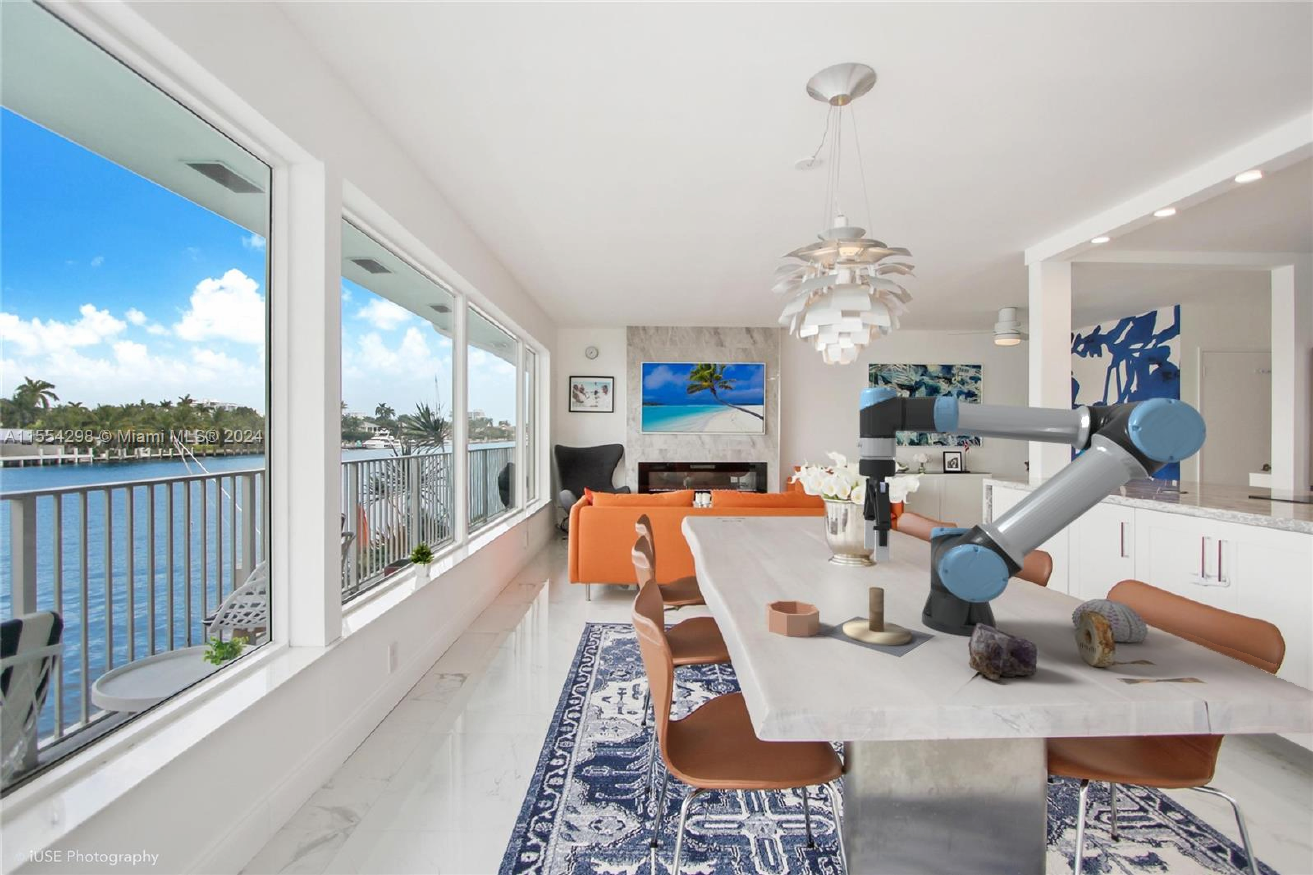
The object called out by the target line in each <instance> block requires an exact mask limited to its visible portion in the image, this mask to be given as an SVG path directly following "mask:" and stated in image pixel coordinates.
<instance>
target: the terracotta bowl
mask: <svg viewBox="0 0 1313 875" xmlns="http://www.w3.org/2000/svg"><path fill="white" fill-rule="evenodd" d="M765 625H766V627H767V629H768V631H769V632H771V633H774V634H777V635H780V636H783V637H790V638H792V637H795V638H801V637H802V638H808V637H810V636H812V635H815V634H818V633H820V610H819V608H817V606H815V604H811V603H807V602H803V601H799V600H775V601H772V602H770V603H766V604H765Z"/></svg>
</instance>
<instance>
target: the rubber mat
mask: <svg viewBox="0 0 1313 875" xmlns="http://www.w3.org/2000/svg"><path fill="white" fill-rule="evenodd" d="M854 620H869V618H865V617H862V616H855V617H853V618H851V619H849V620H846V621H843V622H841V623H839V624H836V625H834V626H832V627H831V628H828V629H825V630H823V631H821V632H818V633H817V634H818V635H821V636H823V637H828V638H831V639H834V640H838V641H842V642H844V643H845V642H846V643H848V644H852V645H856V646H858V647H863V648H866V649H869V650H872V651H873V650H874V651H876V652H881V653H883V654H888V655H891V656H894V657H897V658H900V657H902V656H904V655H906V654H907V653H909V652H910V651H913V650H914V649H915V648H918V647H919V646H921V645H922V644H924V643H926V642H927V641H929V640H930V639H932V638H933V637H935V636H936V635H935V634H931V633H927V632H924V631H923V632H922V631H920V630H919V631H918V630H914V629H910V628H906V627H905V628H906V629H907V630H909V631H910V632H911V641H910V642H909V643H907V644H904V645H899V646H879V645H871V644H866V643H862V642H859V641H856V640H853V639H851V638H849V637H847V636H846V635H845V634H844V633H843V625H844V624H845V623H847V622H849V621H854Z"/></svg>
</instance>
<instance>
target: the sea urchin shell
mask: <svg viewBox="0 0 1313 875" xmlns="http://www.w3.org/2000/svg"><path fill="white" fill-rule="evenodd" d="M1082 611H1095V612H1098V613H1100V614H1102V615H1103V616H1104V617H1106V618H1107V619H1108V621H1109V622H1110V625H1111V627H1112V631H1113V635H1114V642H1121V643H1122V642H1124V643H1139V642H1143V641H1144V640H1146V638H1147V637H1148V635H1149V631H1148V630H1149V628H1148V627H1147V623H1145V621H1144V619H1143V618H1142V616H1141V615H1140V614H1139V613H1137V612H1136V610H1134V609H1133V608H1132V607H1130V606H1129V605H1127V604H1125V603H1123V602H1120V601H1115V600H1113V599H1108V598H1101V599H1100V598H1094V599H1090V600H1087V601H1085V602H1083V603H1082V604H1080V605H1079V606H1078V607H1076V608H1075V610H1074V611H1073V613H1071V615H1072V617H1071V620H1072V623H1073V626H1074V628H1076V631H1077V630H1079V625H1080V624H1079V620H1080V619H1079V615H1080V613H1081V612H1082Z"/></svg>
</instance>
